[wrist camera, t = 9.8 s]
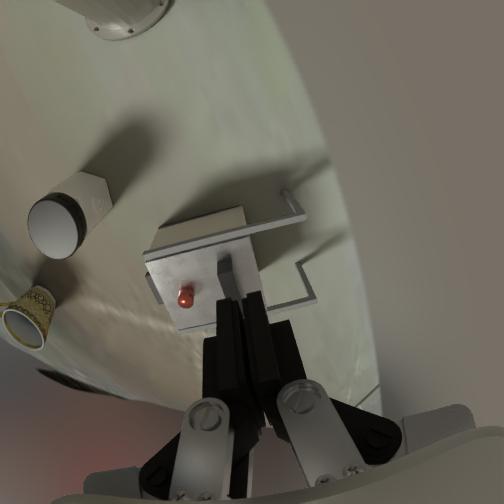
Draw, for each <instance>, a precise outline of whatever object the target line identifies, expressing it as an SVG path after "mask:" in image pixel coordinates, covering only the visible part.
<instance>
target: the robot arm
mask: <svg viewBox="0 0 504 504" xmlns="http://www.w3.org/2000/svg"><path fill="white" fill-rule="evenodd" d="M53 1H55V2H57V3H59V4H61V5H63V6H65V7H67V8H69V9H71V10H73V11H75V12H77V13H79V14H81V15H82V16H84V17H85V21H86V24H87V27H88V28H89V30H90V31H91V32H92V33H93V34H94V35H96V36H98V37H100V38H103V39H105V40H112V41H114V40H124V39H129V38H132V37H134V36H137V35H139V34H141V33H143V32H145V31H146V30H147V29H149V28H150V27H152V26H153V25H154V24H155V23H156V22H157V21H158V20H159V19H160V18H161V17H162V15H163V14H164V12H165V11H166V9H167V7H168V4H169V2H170V0H53ZM162 4H164V5H163V6H161V5H162ZM98 30H99V31H98ZM132 31H134V32H133V33H131V32H132ZM246 296H247V298H242V308H243V315H242V312H241V309H240V306H239V303H238V300H234V301H232V298H231V297H229V298H225V299H221V300H217V301H216V336H214V337H209V338H205V339H204V342H203V385H202V399H200V400H198V401H196V402H194V403H193V404H192V405H190V407H189V408H188V409H187V410H186V413H185V416H184V420H183V425H182V430H181V432H180V433H178V434H177V435H176V436H175V437H174V438H173V439H172V440H171V441H170V442H169V443H168V444H167V445H166V446H164V447H163V448H162V449H161V450H160V451H159V452H158V453H157V454H155V456H153V457H152V458H151V459H150V460H149V461H148V462H147V463H145V464H144V466H143V467H136V466H132V467H127V468H121V469H114V470H108V471H100V472H94V473H91V474H89V475H88V476H87V477H86V479H85V480H84V484H83V491H84V493H82V494H70V495H65V496H62V497H59V498H57V499H55V500H53V501H51V502H50V503H49V504H504V427H500V426H484V427H478V428H476V426H475V422H474V418H473V415H472V413H471V411H470V409H469V408H467V407H466V406H465V405H461V404H453V405H450V406H446V407H442V408H439V409H435V410H431V411H427V412H422V413H418V414H414V415H409V416H404V417H403V419H399V420H394V421H391V420H389V419H387V418H384V417H381V416H378V415H375V414H372V413H369V412H366V411H364V410H361V409H358V408H356V407H353V406H350V405H348V404H345V403H342V402H340V401H337V400H335V399H332V398H330V397H328V395H327V393H326V391H325V389H324V388H323V387H322V386H321V384H319V383H317V382H316V381H313V380H309V379H307V377H306V374H305V370H304V367H303V364H302V360H301V357H300V354H299V350H298V347H297V344H296V340H295V337H294V334H293V330H292V327H291V324H290V321H289V320H285V321H281V322H277V323H273V324H269V321H268V317H267V313H266V309H265V305H264V301H263V297H262V293H261V290H259V291H255V292H251V293H246ZM243 316H244V318H243ZM264 412H265V415H266V417H267V419H268V422H269V424H270V426H271V425H273V428H274V430H275V432H276V435H277V437H279V438H280V439H282V440H284V441H286V442H288V443H290V444H291V447H292V450H293V452H294V454H295V457H296V459H297V462H298V464H299V467H300V469H301V471H302V473H303V476H304V478H305V481H306V483H307V485H308V488H305V489H301V490H296V491H290V492H285V493H279V494H273V495H267V496H260V497H253V498H251V489H252V470H253V447H254V446H255V445H256V443H257V442H258V441H259V438H258V436H259V435H262V433H261V427H266V423H265V416H264Z"/></svg>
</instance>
